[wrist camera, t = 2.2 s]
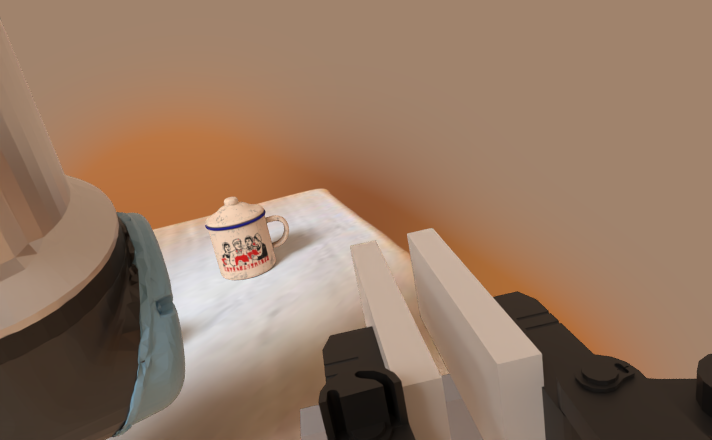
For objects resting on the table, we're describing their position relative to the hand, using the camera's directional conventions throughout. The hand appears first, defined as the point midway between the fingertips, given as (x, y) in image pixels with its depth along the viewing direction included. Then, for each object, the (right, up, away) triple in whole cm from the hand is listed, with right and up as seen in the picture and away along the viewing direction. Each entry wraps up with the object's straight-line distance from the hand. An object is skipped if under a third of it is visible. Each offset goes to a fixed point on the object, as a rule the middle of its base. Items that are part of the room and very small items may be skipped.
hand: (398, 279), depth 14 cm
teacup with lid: (-17, -6, +63) cm, 66 cm away
